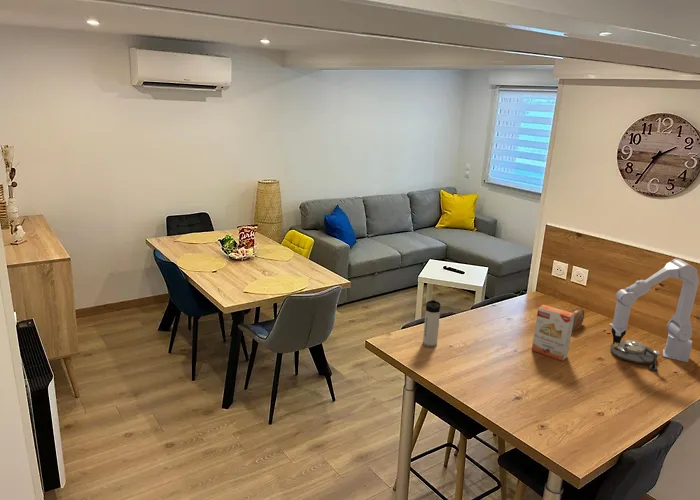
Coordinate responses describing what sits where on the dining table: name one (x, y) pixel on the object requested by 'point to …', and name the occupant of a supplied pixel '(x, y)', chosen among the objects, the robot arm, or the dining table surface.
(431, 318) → the travel mug
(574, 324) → the tin
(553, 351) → the cracker box
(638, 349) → the cover
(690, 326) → the robot arm
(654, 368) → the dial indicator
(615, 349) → the disc
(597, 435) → the dining table surface
